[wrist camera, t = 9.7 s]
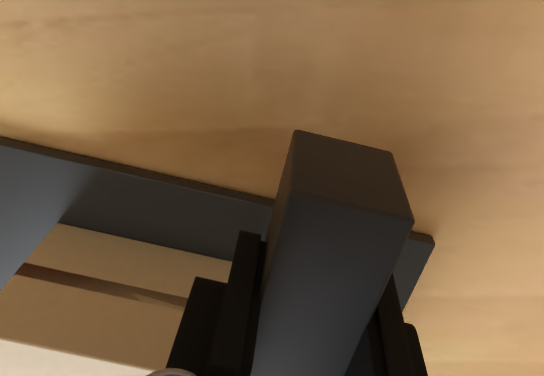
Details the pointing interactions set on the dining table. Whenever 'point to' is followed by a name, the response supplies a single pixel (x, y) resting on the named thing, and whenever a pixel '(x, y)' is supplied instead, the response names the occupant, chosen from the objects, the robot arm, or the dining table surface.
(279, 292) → the knife
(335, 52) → the dining table surface
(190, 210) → the cake
